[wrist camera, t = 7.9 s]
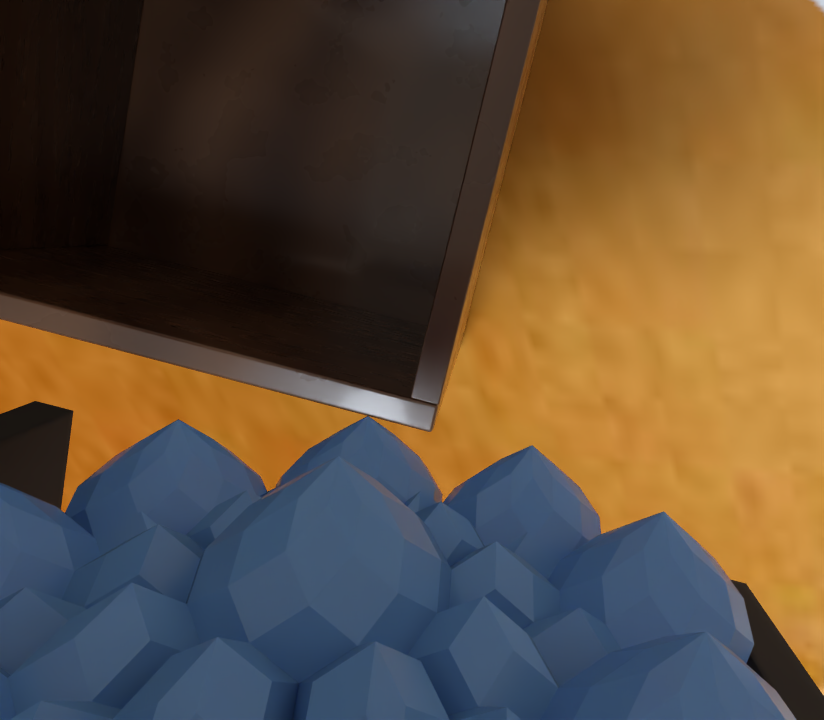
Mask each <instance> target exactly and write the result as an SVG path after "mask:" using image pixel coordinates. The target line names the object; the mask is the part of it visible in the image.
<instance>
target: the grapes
mask: <svg viewBox="0 0 824 720" xmlns="http://www.w3.org/2000/svg"><path fill="white" fill-rule="evenodd" d="M753 646H754V641H753V637H752V632H751V628H750V624H749V619H748V615H747V611H746V606H745V602H744V598H743V597H742V595H741V594H740V593H739V591H738V590H737V588H736V587H735V586H734V584H733V583H732V582H731V580H730V579H729V577H728V576H727V575H726V573H725V572H724V571H723V569H722V568H721V566H720V565H719V564H718V562H717V561H716V560H715V558H713V557H712V556H711V555H710V554H709V553H708V552H707V551H706V550H705V549H704V548H703V547H702V546H701V545H700V544H699V543H698V542H697V541H695V540H694V539H693V538H692V537H691V536H690V535H689V534H688V533H687V532H686V531H684V530H683V529H682V528H681V527H680V526H679V525H678V524H677V523H676V522H675V521H674V520H672V519H671V518H670V517H669V516H668V515H667V514H666V513H665V512H661V513H658V514H656V515H653V516H650V517H647V518H644V519H641V520H639V521H636V522H633V523H630V524H628V525H625V526H622V527H620V528H617V529H614V530H611V531H609V532H606V533H603V534H601V530H600V519H599V516H598V514H597V513H596V511H595V510H594V508H593V507H592V505H591V504H590V502H589V501H588V499H587V498H586V496H585V495H584V493H583V492H582V490H581V489H580V487H579V486H578V485H577V484H576V483H574V482H573V481H572V480H571V479H570V478H569V477H568V476H567V475H566V474H565V473H563V472H562V471H561V470H560V469H559V468H558V467H557V466H556V465H555V464H553V463H552V462H551V461H550V460H549V459H548V458H546V457H545V456H544V455H543V454H542V453H541V452H539V451H538V450H537V449H536V448H535V447H534V446H529V447H527V448H525V449H523V450H520V451H518V452H516V453H514V454H511V455H509V456H507V457H505V458H503V459H500V460H499V461H497V462H496V463H494V464H492V465H491V466H489V467H488V468H486V469H484V470H483V471H481V472H479V473H478V474H476V475H475V476H473V477H471V478H470V479H468V480H467V481H465V482H464V483H462V484H461V485H459V486H457V487H456V488H454V489H453V491H452V492H451V493H450V494H449V496H448V497H447V498H446V500H445V501H444V502H443V503H442V493H441V491H440V490H439V488H438V486H437V484H436V483H435V481H434V479H433V477H432V476H431V474H430V472H429V470H428V468H427V467H426V465H425V464H424V463H423V461H422V460H421V459H420V457H419V456H418V455H417V454H415V453H414V452H413V451H412V450H411V449H410V448H409V447H407V446H406V445H405V444H404V443H403V442H402V441H401V440H400V439H398V438H397V437H396V436H395V435H394V434H393V433H391V432H390V431H388V430H387V429H386V428H384V427H383V426H381V425H380V424H379V423H377V422H376V421H374V420H373V419H372V418H370V417H369V416H367V417H365V418H363V419H361V420H359V421H357V422H356V423H354V424H352V425H350V426H348V427H346V428H344V429H342V430H340V431H339V432H337V433H335V434H334V435H332V436H330V437H329V438H327V439H325V440H323V441H322V442H320V443H318V444H317V445H315V446H313V447H312V448H310V449H308V450H307V451H306V452H305V453H304V454H303V455H302V456H301V457H300V458H299V459H298V460H297V461H296V462H295V463H294V465H293V466H292V467H291V468H290V469H289V470H288V471H287V472H286V473H285V474H284V475H283V476H282V477H281V479H280V480H279V481H278V483H277V484H276V488H274V489H272V490H270V491H268V492H267V490H266V488H265V486H264V483H263V481H262V479H261V477H260V476H259V475H258V474H257V473H256V472H254V471H253V470H252V469H251V468H250V467H249V466H247V465H246V464H245V463H244V462H243V461H241V460H240V459H239V458H238V457H237V456H236V455H234V454H233V453H232V452H231V451H229V450H228V449H226V448H225V447H223V446H222V445H221V444H219V443H218V442H216V441H215V440H213V439H212V438H210V437H208V436H206V435H205V434H203V433H201V432H199V431H198V430H196V429H194V428H193V427H191V426H189V425H187V424H186V423H184V422H182V421H180V420H179V419H178V420H176V421H175V422H173V423H171V424H169V425H168V426H166V427H164V428H162V429H161V430H159V431H157V432H155V433H153V434H152V435H150V436H148V437H146V438H145V439H143V440H141V441H139V442H138V443H136V444H134V445H133V446H131V447H129V448H128V449H126V450H124V451H123V452H121V453H120V454H118V455H116V456H115V457H113V458H112V459H111V460H110V461H108V462H107V463H106V464H105V465H104V466H102V467H101V468H100V469H99V470H98V471H96V472H95V473H94V474H93V475H92V476H90V477H89V478H88V479H87V480H85V481H84V482H83V483H82V484H81V485H79V486H78V488H77V490H76V492H75V494H74V496H73V498H72V500H71V502H70V504H69V506H68V508H67V510H66V512H65V513H64V512H62V511H61V510H60V509H59V508H58V507H56V506H54V505H51V504H49V503H47V502H45V501H42V500H40V499H38V498H35V497H33V496H31V495H28V494H26V493H24V492H21V491H19V490H17V489H15V488H12V487H10V486H8V485H5V484H2V483H0V720H796V718H795V717H794V715H793V714H792V712H791V711H790V710H789V708H788V707H787V705H786V704H785V703H784V701H783V700H782V698H781V697H780V695H779V694H778V693H777V691H776V690H775V689H774V688H773V687H772V686H770V685H769V684H768V683H767V682H766V681H765V680H764V679H763V678H761V677H760V676H759V675H758V674H757V673H756V672H755V671H754V670H753V669H751V668H750V667H749V666H748V665H747V664H746V663H747V661H748V658H749V656H750V653H751V651H752V648H753Z"/></svg>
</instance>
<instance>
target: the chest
mask: <svg viewBox="0 0 824 720" xmlns="http://www.w3.org/2000/svg"><path fill="white" fill-rule="evenodd" d="M547 3H548V0H0V319H2V320H6V321H10V322H13V323H17V324H21V325H25V326H29V327H32V328H36V329H40V330H44V331H48V332H51V333H55V334H59V335H63V336H67V337H70V338H74V339H78V340H82V341H86V342H89V343H93V344H97V345H101V346H105V347H108V348H112V349H116V350H120V351H124V352H127V353H131V354H135V355H139V356H143V357H146V358H150V359H154V360H158V361H162V362H165V363H169V364H173V365H177V366H181V367H184V368H188V369H192V370H196V371H200V372H203V373H207V374H211V375H215V376H219V377H222V378H226V379H230V380H234V381H238V382H241V383H245V384H249V385H253V386H257V387H260V388H264V389H268V390H272V391H276V392H279V393H283V394H287V395H291V396H295V397H298V398H302V399H306V400H310V401H314V402H317V403H321V404H325V405H329V406H333V407H336V408H340V409H344V410H348V411H352V412H355V413H359V414H363V415H367V416H371V417H374V418H378V419H382V420H386V421H390V422H393V423H397V424H401V425H405V426H409V427H412V428H416V429H420V430H424V431H428V432H431V431H432V430H433V428H434V425H435V422H436V419H437V416H438V413H439V410H440V407H441V404H442V401H443V397H444V394H445V391H446V388H447V385H448V382H449V379H450V376H451V373H452V370H453V367H454V364H455V361H456V358H457V355H458V352H459V349H460V346H461V342H462V338H463V334H464V330H465V326H466V322H467V318H468V314H469V310H470V307H471V303H472V299H473V295H474V291H475V287H476V283H477V279H478V275H479V271H480V267H481V263H482V259H483V255H484V251H485V247H486V243H487V239H488V235H489V232H490V228H491V224H492V220H493V216H494V212H495V208H496V204H497V200H498V196H499V192H500V188H501V184H502V180H503V176H504V172H505V168H506V164H507V160H508V157H509V153H510V149H511V145H512V141H513V137H514V133H515V129H516V125H517V121H518V117H519V113H520V109H521V105H522V101H523V97H524V93H525V89H526V85H527V82H528V78H529V74H530V70H531V66H532V62H533V58H534V54H535V50H536V46H537V42H538V38H539V34H540V30H541V26H542V22H543V18H544V14H545V10H546V7H547Z"/></svg>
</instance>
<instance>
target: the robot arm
mask: <svg viewBox="0 0 824 720" xmlns="http://www.w3.org/2000/svg"><path fill="white" fill-rule="evenodd" d="M72 417H73V411H72V410H68V409H64V408H60V407H56V406H53V405H49V404H45V403H41V402H37V401H34V402H32V403H29V404H26V405H24V406H21V407H18V408H16V409H13V410H10V411H8V412H5V413H2V414H0V483H2V484H5V485H8V486H10V487H12V488H15V489H17V490H19V491H21V492H24V493H26V494H28V495H31V496H33V497H35V498H38V499H40V500H42V501H45V502H47V503H49V504H51V505H54V506H56V507H58V508H59V509H60V510H61V503H62V496H63V488H64V480H65V472H66V464H67V456H68V449H69V441H70V433H71V425H72ZM731 582H732V583H733V584H734V586H735V587H736V588H737V590H738V591H739V593H740V594H741V595H742V597H743V598H744V602H745V606H746V611H747V615H748V619H749V624H750V628H751V632H752V637H753V641H754V646H753V648H752V651H751V653H750V656H749V658H748V661H747V663H746V664H747V665H748V666H749V667H750V668H751V669H753V670H754V671H755V672H756V673H757V674H758V675H759V676H760V677H761V678H763V679H764V680H765V681H766V682H767V683H768V684H769V685H770V686H772V687H773V688H774V689H775V690H776V691H777V693H778V694H779V695H780V697H781V698H782V700H783V701H784V703H785V704H786V705H787V707H788V708H789V710H790V711H791V712H792V714H793V715H794V717H795V718H796V720H824V696H823V694H822V693H821V692H820V690H819V689H818V687H817V686H816V684H815V683H814V681H813V680H812V679H811V677H810V676H809V674H808V673H807V671H806V670H805V668H804V667H803V666H802V664H801V663H800V661H799V660H798V658H797V657H796V655H795V654H794V652H793V651H792V650H791V648H790V647H789V645H788V644H787V642H786V641H785V639H784V638H783V637H782V635H781V634H780V632H779V631H778V629H777V628H776V626H775V625H774V624H773V622H772V621H771V619H770V618H769V616H768V615H767V613H766V612H765V611H764V609H763V608H762V606H761V605H760V603H759V602H758V600H757V599H756V598H755V596H754V595H753V593H752V592H751V590H750V589H749V587H748V586H747V585H746V584H745V583H741V582H737V581H733V580H731Z"/></svg>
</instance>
